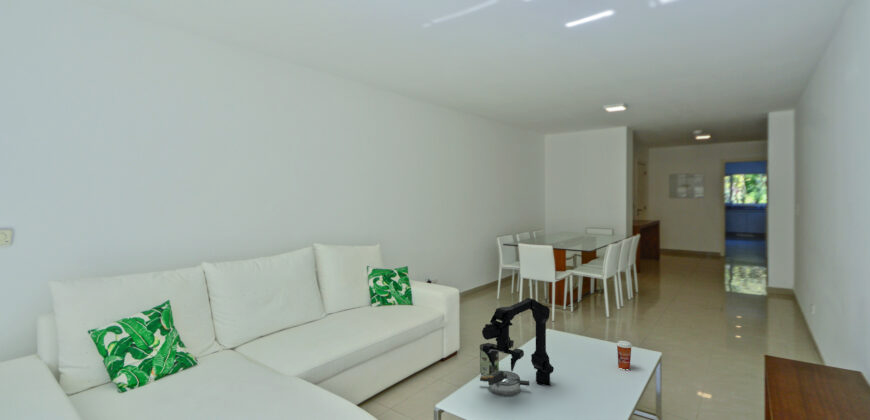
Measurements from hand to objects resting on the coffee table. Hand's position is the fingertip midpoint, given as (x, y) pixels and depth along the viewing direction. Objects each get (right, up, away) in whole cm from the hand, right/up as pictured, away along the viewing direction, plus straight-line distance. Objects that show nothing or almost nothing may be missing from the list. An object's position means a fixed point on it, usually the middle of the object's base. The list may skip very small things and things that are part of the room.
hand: (502, 368), depth 192 cm
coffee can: (-3, -13, +28) cm, 31 cm away
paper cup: (+71, -12, +32) cm, 79 cm away
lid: (+1, -8, +6) cm, 10 cm away
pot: (+2, -13, +8) cm, 15 cm away
